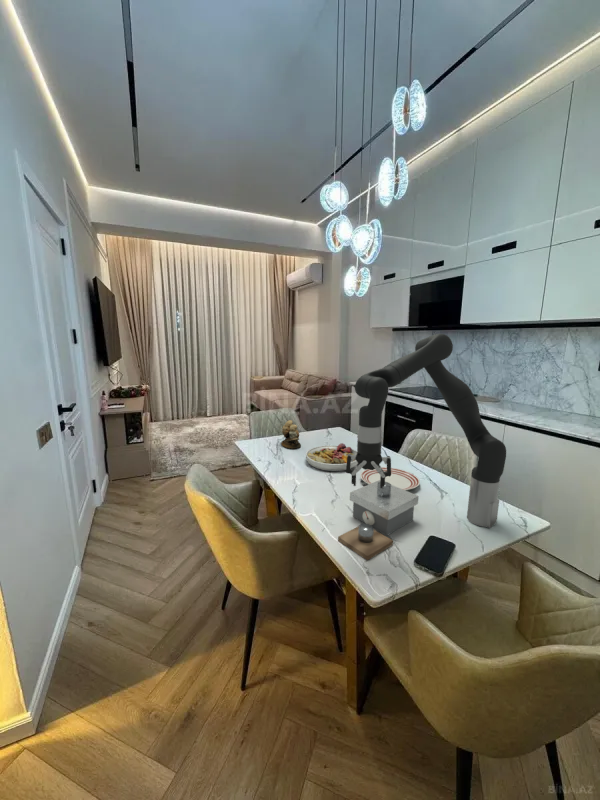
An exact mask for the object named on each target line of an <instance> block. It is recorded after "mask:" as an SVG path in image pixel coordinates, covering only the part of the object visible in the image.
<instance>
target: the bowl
mask: <svg viewBox="0 0 600 800" xmlns="http://www.w3.org/2000/svg"><path fill="white" fill-rule="evenodd" d="M348 454H351V455H357V450H355V449H353V448H352V447H351V446H346V444H345V443H343V442H342V443H339V444H338V445H320V446H316V447H312V448H310V449H308V450H307V451H306V452H305V459H306V461H307V463H308V464H309V465H310V466H312V467H314V468H316V469H318V470H322V471H327V472H342V471H346V466H347V456H348ZM357 463H358V462H357V461H356V459H354V460H353V462H351V465H350V468H351V469H353V468H354V467H355V466H356V465H357Z"/></svg>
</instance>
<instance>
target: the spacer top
mask: <svg viewBox="0 0 600 800" xmlns="http://www.w3.org/2000/svg"><path fill="white" fill-rule="evenodd" d="M358 526H359V529H358V539H359V540H360V541H361V542H363V543H371V542H372V541H373V533H374V530H375V529H374V528H373V526H371V525H369V524H365V523H361V524H359V525H358Z"/></svg>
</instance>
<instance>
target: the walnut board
mask: <svg viewBox="0 0 600 800" xmlns="http://www.w3.org/2000/svg"><path fill="white" fill-rule="evenodd" d="M358 529H359V525H358V526H357V527H355V528H354V527H353V529H351V530H348V531H346V532H345V533H343V534H341V535H339V536H338V537H337V538H338V539H337V540H338V542H340V543H341V544H343V546H346V547H347V548H348V549H349V550H351V551H353V552H354V553H355V554H357V555H358V556H360V557H362V558H363V559H364V560H366V561H369V560H370V559H372V558H374V557H376V556H377V555H379V554H380V553H382V552H384V551H385V550H387V549H388V548H390V547H391V546H393V545H394V540H393V539H392V538H390V537H388V536H387V535H385V534H383V533H381V532H379V531H378V530H376V529H374V533H373V541H372V542H371V543H363V542H361V541H360V540H359V539H358Z"/></svg>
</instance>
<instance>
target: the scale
mask: <svg viewBox="0 0 600 800" xmlns="http://www.w3.org/2000/svg"><path fill="white" fill-rule="evenodd" d="M352 503H353V506H352V517H353V518H355V519H357V520H358V521H361V523H363V524H369V525H371V526H373V528H374V530H376V531H377V532H379V533H381V534H383V535H384V536H389V535H390V534H393V533H394V532H395V531H397V530H399V529H401V528H402V527H403V526H405V525H408V524H409V523H411V522H412V521H413V520H414V510H415V506H413V507H411V508H410V509H408V510H406V511H404V512H402V513H400V514H399V515H397V516H395V517H393V518H391V519H389V520H387V519H385V518H383V517H381V516H379V515H378V514H376V513H374V512H372V511H370V510H368V509H366V508H364V507H362V506H360V505H358V504H356V503H355V502H353V501H352Z"/></svg>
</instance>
